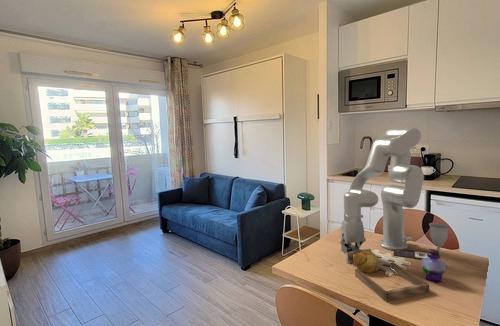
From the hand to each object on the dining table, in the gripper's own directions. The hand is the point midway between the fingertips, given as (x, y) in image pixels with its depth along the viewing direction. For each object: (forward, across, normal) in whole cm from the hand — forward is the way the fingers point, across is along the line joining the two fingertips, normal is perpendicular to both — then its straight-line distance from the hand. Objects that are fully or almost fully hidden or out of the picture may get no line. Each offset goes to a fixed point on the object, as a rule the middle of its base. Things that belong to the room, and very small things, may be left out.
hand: (353, 255), depth 131 cm
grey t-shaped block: (+1, 0, -2) cm, 2 cm away
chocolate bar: (+1, -28, +7) cm, 29 cm away
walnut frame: (+1, 0, +24) cm, 24 cm away
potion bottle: (+1, -18, +27) cm, 32 cm away
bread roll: (+1, 0, +11) cm, 11 cm away
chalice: (+1, -29, +18) cm, 35 cm away
